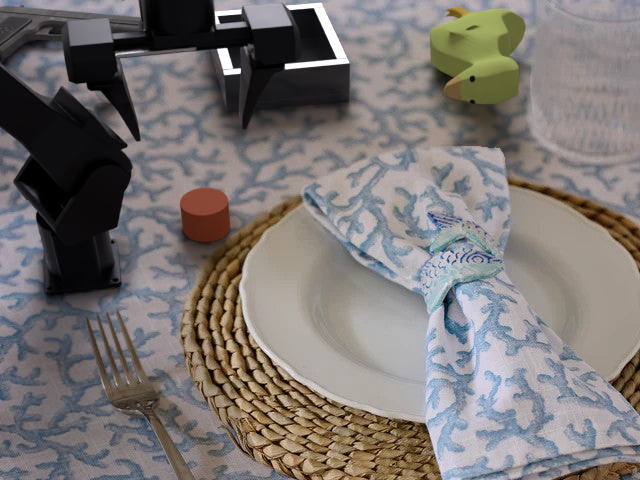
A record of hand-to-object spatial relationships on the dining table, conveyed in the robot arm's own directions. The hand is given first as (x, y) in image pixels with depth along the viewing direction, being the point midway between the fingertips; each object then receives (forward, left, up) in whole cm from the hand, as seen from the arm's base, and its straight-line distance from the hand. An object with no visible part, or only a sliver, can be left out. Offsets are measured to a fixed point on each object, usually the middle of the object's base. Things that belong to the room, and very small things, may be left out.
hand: (191, 133), depth 88 cm
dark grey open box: (+27, -12, -10) cm, 31 cm away
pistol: (+33, +14, -9) cm, 37 cm away
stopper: (-1, 0, -10) cm, 10 cm away
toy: (+31, -32, -8) cm, 45 cm away
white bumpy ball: (+24, +7, -10) cm, 27 cm away
